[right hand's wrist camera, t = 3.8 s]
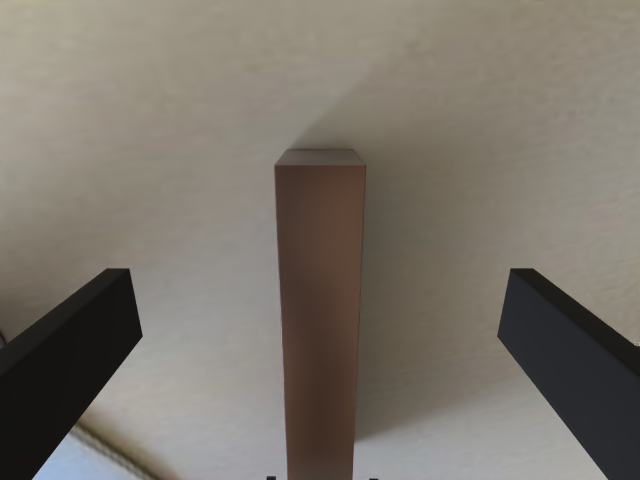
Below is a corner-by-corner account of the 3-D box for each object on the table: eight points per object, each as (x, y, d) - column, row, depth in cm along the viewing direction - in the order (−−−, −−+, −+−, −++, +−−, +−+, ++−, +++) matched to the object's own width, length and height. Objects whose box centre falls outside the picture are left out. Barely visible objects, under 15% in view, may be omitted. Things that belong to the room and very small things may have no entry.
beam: (353, 149, 27) (365, 165, 20) (344, 446, 38) (350, 531, 30) (286, 149, 27) (274, 165, 20) (295, 446, 38) (289, 531, 30)
